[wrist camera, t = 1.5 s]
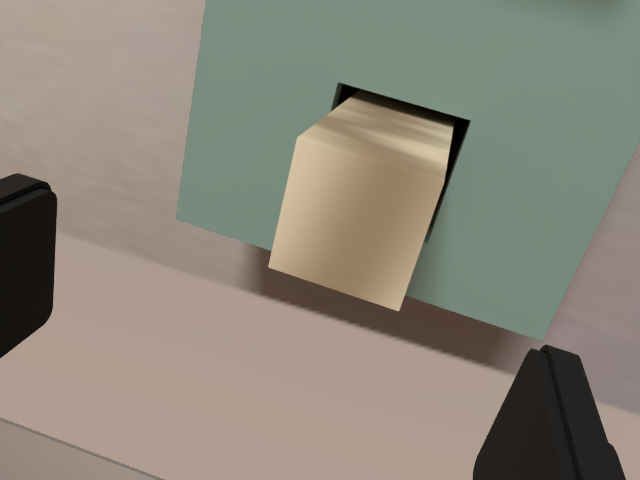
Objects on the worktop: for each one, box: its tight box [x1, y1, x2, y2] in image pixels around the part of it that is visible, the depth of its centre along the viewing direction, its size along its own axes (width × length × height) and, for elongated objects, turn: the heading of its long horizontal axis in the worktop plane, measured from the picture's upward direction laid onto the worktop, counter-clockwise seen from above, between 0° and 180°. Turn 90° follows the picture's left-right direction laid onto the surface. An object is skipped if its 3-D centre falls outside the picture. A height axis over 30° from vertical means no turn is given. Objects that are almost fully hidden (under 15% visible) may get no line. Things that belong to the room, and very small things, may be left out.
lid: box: [176, 0, 640, 341], centre depth 19 cm, size 16×20×4 cm
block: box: [268, 89, 455, 311], centre depth 23 cm, size 4×4×16 cm
